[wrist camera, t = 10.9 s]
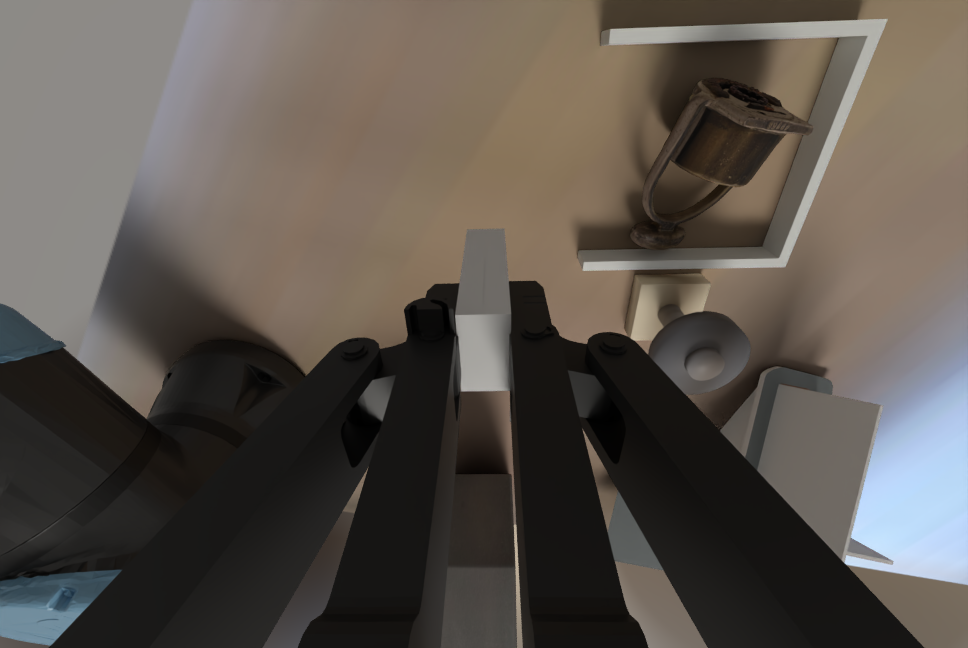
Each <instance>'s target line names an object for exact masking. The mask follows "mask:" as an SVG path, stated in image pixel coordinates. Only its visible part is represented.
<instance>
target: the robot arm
mask: <svg viewBox="0 0 968 648" xmlns="http://www.w3.org/2000/svg"><path fill="white" fill-rule="evenodd" d="M404 313H405V319H406V326H407V332H408V337H407V340H406V342H404V343H402V344H399V345H396V346H392V347H388V348H383V349H380V348H379V344H378V343H377V342H376V341H375V340H373V339H369V338H353V339H349V340H346V341H344V342H341V343H339V344H338V345H336V346H335V347H334V348H333V349H332V350H331V351H330V352H329V353H328V354H327V355H326V356H325V357H324V358H323V359H322V360H321V361H320V362H319V363H318V364H317V365H316V366H315V367H314V369H313V370H312V371H311V372H310V373H309V374H308V375H307V376H306V377H305V378H304V377H303V375H302V374H301V373H300V372H299V371H298V370H297V369H296V368H295V367H293V366H292V365H291V364H290V363H288V362H287V361H286V360H284V359H283V358H281V357H280V356H278V355H276V354H274V353H272V352H270V351H268V350H266V349H264V348H261V347H258V346H255V345H252V344H249V343H244V342H239V341H231V340H216V341H209V342H205V343H201V344H199V345H196V346H194V347H192V348H191V349H189V350H188V351H187V352H186V353H185V354H184V355H183V356H181V357H180V358H179V359H178V360H177V361H176V362H175V363H174V364H173V365H172V366H171V368H170V369H169V371H168V372H167V374H166V376H165V378H164V381H163V385H162V390H161V391H160V392H159V394H158V396H157V398H156V400H155V402H154V404H153V406H152V408H151V411H150V413H149V415H148V417H147V419H146V418H145V417H143V416H142V415H141V414H140V413H139V412H137V411H136V410H135V409H134V408H132V407H131V406H130V405H129V404H128V403H127V402H125V401H124V400H123V399H122V398H121V397H120V396H119V395H117V394H116V393H115V392H114V391H113V390H112V389H110V388H109V387H108V386H107V385H106V384H105V383H104V382H102V381H101V380H100V379H99V378H98V377H97V376H95V375H94V374H93V373H92V372H91V371H90V370H89V369H87V368H86V367H85V366H84V365H83V364H82V363H80V362H79V361H78V360H77V359H76V358H75V357H73V356H72V355H71V354H70V353H69V352H68V351H67V350H65V349H64V348H63V347H66V345H65V344H64V343H63V342H62V341H56V340H54V339H53V338H51V337H50V336H49V335H47V334H46V333H45V332H43V331H42V330H41V329H40V328H38V327H37V326H36V325H34V324H33V323H32V322H30V321H29V320H28V319H26V318H25V317H24V316H22V315H21V314H20V313H19V312H17V311H16V310H14V309H13V308H11V307H8V306H6V305H3V304H0V636H3V637H7V638H11V639H15V640H20V641H25V642H31V643H37V644H44V645H51V646H50V647H49V648H262V647H263V646H264V644H265V642H266V641H267V639H268V637H269V635H270V634H271V632H272V630H273V629H274V627H275V625H276V623H277V622H278V620H279V618H280V616H281V615H282V613H283V612H284V610H285V608H286V607H287V605H288V603H289V601H290V600H291V598H292V596H293V595H294V593H295V591H296V589H297V588H298V586H299V584H300V583H301V581H302V579H303V577H304V576H305V574H306V572H307V571H308V569H309V567H310V566H311V564H312V562H313V560H314V559H315V557H316V555H317V553H318V552H319V550H320V548H321V547H322V545H323V543H324V542H325V540H326V538H327V537H328V535H329V533H330V531H331V529H332V528H333V526H334V525H335V523H336V521H337V520H338V518H339V516H340V514H341V513H342V511H343V509H344V508H345V506H346V504H347V502H348V501H349V499H350V497H351V496H352V494H353V492H354V491H355V489H356V487H357V485H358V484H359V482H360V480H361V479H362V477H363V475H364V473H365V472H366V470H367V468H368V467H369V468H368V471H367V474H366V478H365V481H364V484H363V488H362V491H361V494H360V498H359V501H358V504H357V508H356V511H355V515H354V518H353V521H352V525H351V528H350V531H349V535H348V538H347V542H346V546H345V548H344V552H343V555H342V558H341V562H340V565H339V568H338V572H337V575H336V578H335V582H334V585H333V588H332V592H331V595H330V598H329V601H328V604H327V606H326V608H325V610H324V612H323V613H322V614H321V615H320V616H318V617H317V618H316V619H314V620H313V621H311V622H310V624H309V626H308V627H307V629H306V630H305V632H304V634H303V636H302V638H301V641H300V643H299V646H298V648H441V638H442V626H443V614H444V602H445V590H446V578H447V566H448V554H449V542H450V530H451V518H452V506H453V494H454V482H455V470H456V458H457V446H458V434H459V422H460V410H461V397H460V385H461V391H510V422H511V430H512V449H513V468H514V487H515V506H516V525H517V543H518V563H519V580H520V581H519V582H520V598H521V599H520V601H521V620H522V637H523V638H522V639H523V648H648V645H647V642H646V638H645V636H644V633H643V631H642V629H641V627H640V625H639V623H638V622H637V621H636V620H635V619H634V618H633V617H632V616H631V615H630V614H629V612H628V610H627V607H626V604H625V601H624V597H623V593H622V589H621V585H620V581H619V577H618V573H617V569H616V564H615V560H614V556H613V552H612V548H611V544H610V540H609V536H608V532H607V528H606V524H605V520H604V516H603V511H602V507H601V503H600V499H599V495H598V491H597V487H596V483H595V479H594V475H593V471H592V467H591V463H590V458H589V454H588V450H587V446H586V442H585V438H584V434H583V430H584V432H585V434H586V435H587V437H588V439H589V441H590V442H591V444H592V446H593V448H594V449H595V451H596V453H597V455H598V456H599V458H600V460H601V462H602V463H603V465H604V467H605V469H606V470H607V472H608V474H609V476H610V477H611V479H612V481H613V483H614V484H615V486H616V488H617V490H618V491H619V493H620V495H621V497H622V498H623V500H624V502H625V504H626V505H627V507H628V509H629V511H630V512H631V514H632V516H633V518H634V519H635V521H636V523H637V525H638V526H639V528H640V530H641V532H642V533H643V535H644V537H645V539H646V540H647V542H648V544H649V546H650V547H651V549H652V551H653V553H654V554H655V556H656V558H657V560H658V561H659V563H660V565H661V567H662V568H663V570H664V572H665V573H666V575H667V577H668V579H669V580H670V582H671V584H672V586H673V587H674V589H675V591H676V593H677V594H678V596H679V598H680V600H681V602H682V603H683V605H684V607H685V609H686V610H687V612H688V614H689V616H690V617H691V619H692V621H693V622H694V624H695V626H696V627H697V629H698V631H699V633H700V635H701V637H702V638H703V640H704V642H705V644H706V645H707V647H708V648H924V647H923V646H922V645H921V644H920V643H919V642H918V641H917V639H915V637H913V635H912V634H911V633H910V632H909V631H908V630H907V629H906V628H905V627H904V626H903V625H902V624H901V623H900V621H899V620H898V619H897V618H896V617H895V616H894V615H893V614H892V613H891V612H890V611H889V610H888V609H887V608H886V607H885V606H884V605H883V604H882V602H881V601H880V600H879V599H878V598H877V597H876V596H875V595H874V594H873V593H872V592H871V591H870V590H869V589H868V588H867V587H866V585H864V583H863V582H862V581H861V580H860V579H859V578H858V577H857V576H856V575H855V574H854V573H853V572H852V571H851V570H850V568H849V567H848V566H847V565H846V564H845V563H844V562H843V561H842V560H841V559H840V558H839V557H838V556H837V555H836V554H835V553H834V552H833V550H832V549H831V548H830V547H829V546H828V545H827V544H826V543H825V542H824V541H823V540H822V539H821V538H820V537H819V536H818V535H817V534H816V532H815V531H814V530H813V529H812V528H811V527H810V526H809V525H808V524H807V523H806V522H805V521H804V520H803V519H802V518H801V517H800V516H799V514H798V513H797V512H796V511H795V510H794V509H793V508H792V507H791V506H790V505H789V504H788V503H787V502H786V501H785V500H784V499H783V497H782V496H781V495H780V494H779V493H778V492H777V491H776V490H775V489H774V488H773V487H772V486H771V485H770V484H769V483H768V482H767V481H766V479H765V478H764V477H763V476H762V475H761V474H760V473H759V472H758V471H757V470H756V469H755V468H754V467H753V466H752V465H751V464H750V463H749V461H748V460H747V459H746V458H745V457H744V456H743V455H742V454H741V453H740V452H739V451H738V450H737V449H736V448H735V447H734V446H733V444H732V443H731V442H730V441H729V440H728V439H727V438H726V437H725V436H724V435H723V434H722V433H721V432H720V431H719V430H718V429H717V428H716V426H715V425H714V424H713V423H712V422H711V421H710V420H709V419H708V418H707V417H706V416H705V415H704V414H703V413H702V412H701V411H700V410H699V408H698V407H697V406H696V405H695V404H694V403H693V402H692V401H691V400H690V399H689V398H688V397H687V396H686V395H685V394H684V393H683V392H682V390H681V389H680V388H679V387H678V386H677V385H676V384H675V383H674V382H673V381H672V380H671V379H670V378H669V377H668V376H667V375H666V373H665V372H664V371H663V370H662V369H661V368H660V367H659V366H658V365H657V364H656V363H655V362H654V361H653V360H652V359H651V358H650V357H649V355H648V354H647V353H646V352H645V351H644V350H643V349H642V348H641V347H640V346H639V345H638V344H637V343H636V342H635V341H634V340H632V339H631V338H630V337H627V336H625V335H622V334H619V333H613V332H603V333H598V334H595V335H593V336H592V337H590V338H589V339H588V343H587V344H583V343H577V342H573V341H569V340H567V339H564V338H562V337H561V336H559V332H558V331H557V329H556V327H554V326H553V325H552V323H551V319H550V315H549V310H548V306H547V302H546V297H545V293H544V289H543V287H542V286H541V285H540V284H539V283H537V282H536V281H509V280H508V268H507V256H506V243H505V231H504V229H470V230H467V234H466V241H465V249H464V256H463V263H462V270H461V277H460V283H457V284H435V285H433V286H432V287H431V288H430V289H429V290H428V291H427V294H426V298H421V299H418V300H415V301H413V302H411V303H410V304H408V305H407V306H406V308H405V309H404ZM582 428H583V430H582Z"/></svg>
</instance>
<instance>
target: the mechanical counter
mask: <svg viewBox="0 0 968 648" xmlns="http://www.w3.org/2000/svg"><path fill="white" fill-rule="evenodd" d="M813 129H814V126H812V125H810V124H809V123H807V122H805V121H803V120H801V119H799V118H798V117H796V116H795V115H793V114H791V113H790V112H788V111H787V110H785V109H784V108H783V107H782V105H781V102H780V100H778V99H776V98H775V97H772V96H770V95H767V94H766V93H763V92H762V93H761V92H759V90H758V89H754V88H753V87H750V88H749V87H747V86H746V85H743V84H741V83H738V82H736V81H735V82H734V81H731V80H728V79H723V78H711V79H703V80H701V81H700V82H698V83H697V84H696V86H695V88H694V89H693V94H692V95H691V96H690V98H689V100H688V102H687V104H686V106H685V107H684V109H683V111H682V113H681V115H680V117H679V119H678V120H677V122H676V124H675V126H674V128H673V129H672V131H671V133H670V135H669V137H668V139H667V140H666V142H665V144H664V146H663V148H662V150H661V152H660V153H659V155H658V157H657V159H656V160H655V162H654V164H653V166H652V168H651V170H650V172H649V173H648V175H647V178H646V181H645V184H644V187H643V195H642V204H643V207H644V210H645V212H646V214H647V215H648V216H649V217H650V218H651V219H652V220H653V221H647V222H642V223H639V224H636V225H635V226H634V227H632V229H631V232H630V237H631V239H632V240H633V242H635V243H636V244H637V245H639V246H641V247H644V248H647V249H650V250H666V249H670V248H673V247H674V246H676V245H678V244H679V243H680V242H681V240H682V239H683V238H684V235H685V230H684V229H683V228H681V227H678V226H677V225H678V224H680V223H682V222H685V221H688V220H690V219H693V218H694V217H696V216H698V215H700V214H701V213H703V212H704V211H705V210H707V209H708V208H710V207H711V206H713V205H714V204H715V203H717V202H718V201H719V200H720V199H721V198H722V197H723V196H724V195H725V194H726V193H727V192H728V191H729V190H730V189H731V188H732V187H741V186H744V185H746V184H747V183H748V182H749V181H750V180H751V179H752V178H753V176H754V175H755V174H756V172H757V171H758V170H759V168H760V167H761V165H762V164H763V163H764V161H765V160H766V159H767V157H768V156H769V155H770V153H771V152H772V150H773V149H774V148H775V146H776V145H777V144H778V143H779V142H780V141H781V139H782V138H783V137H784V136H785V135H786V134H790V133H794V134H800V135H807V136H808V135H809V134H811V133H812V131H813ZM670 160H671V161H673V162H674V163H675V164H676V165H677V166H679V167H680V168H682V169H683V170H685V171H687V172H689V173H690V174H692V175H695V176H697V177H699V178H702V179H704V180H707V181H710V182H713V183H716V184H719V185H718V186H717V187H716V188H715V189H714V190H713V191H712V192H711V193H710V194H708V195H707V196H706V197H705V198H704V199H702V200H701V201H700V202H698V203H697V204H695V205H694V206H692V207H690V208H688V209H686V210H684V211H681V212H678V213H675V214H658V213H655V211H654V209H653V192H654V188H655V186H656V184H657V182H658V180H659V178H660V176H661V175H662V173H663V171H664V170H665V168H666V166H667V164H668V163H669V161H670Z"/></svg>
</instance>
